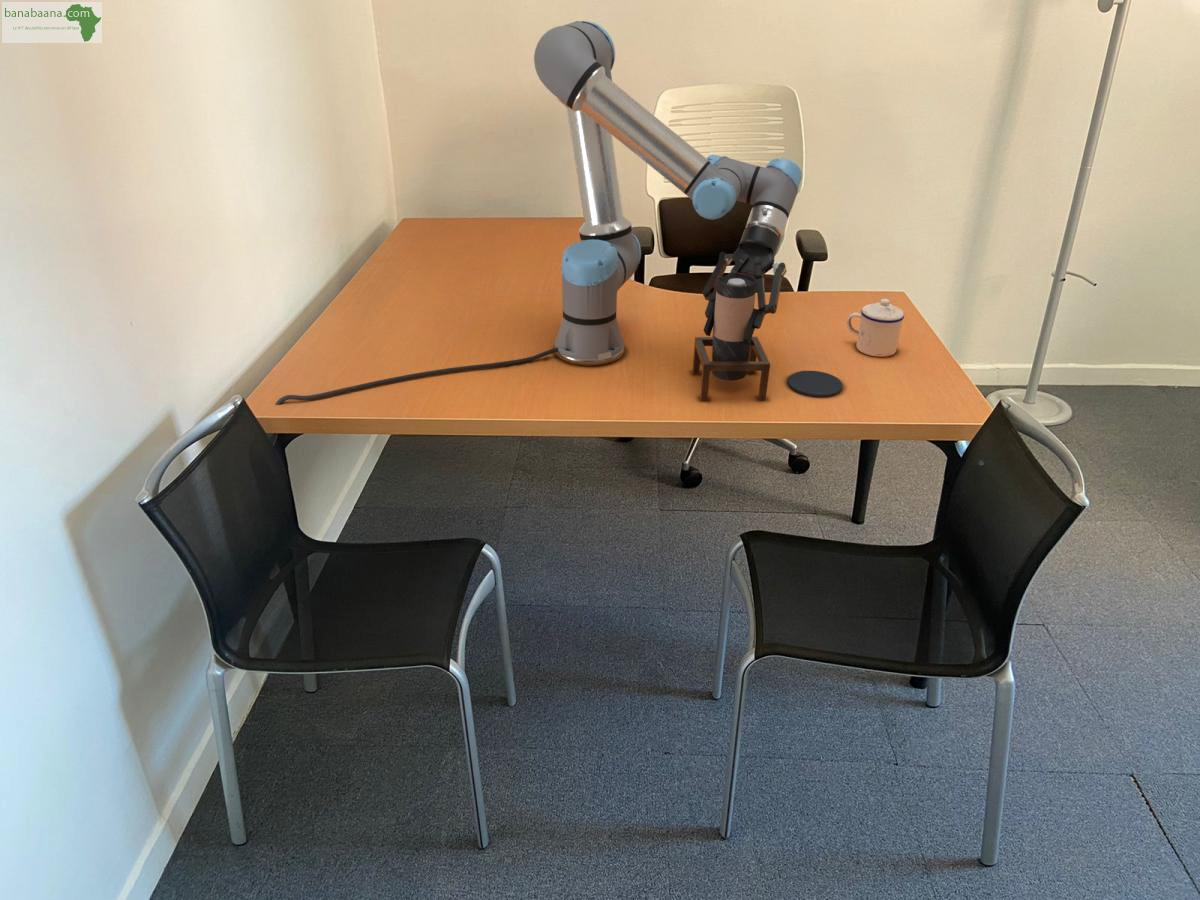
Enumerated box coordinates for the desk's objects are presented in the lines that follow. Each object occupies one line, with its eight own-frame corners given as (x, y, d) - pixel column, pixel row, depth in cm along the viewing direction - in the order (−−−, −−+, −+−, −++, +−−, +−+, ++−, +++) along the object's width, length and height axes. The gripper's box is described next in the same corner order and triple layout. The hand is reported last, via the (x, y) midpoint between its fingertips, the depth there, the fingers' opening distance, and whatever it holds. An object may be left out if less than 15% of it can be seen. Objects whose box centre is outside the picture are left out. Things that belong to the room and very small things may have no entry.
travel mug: (746, 383, 173) (755, 287, 162) (708, 379, 174) (714, 284, 163) (749, 366, 179) (758, 273, 168) (712, 363, 180) (718, 271, 170)
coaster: (794, 397, 174) (794, 395, 173) (782, 373, 183) (782, 370, 183) (848, 397, 174) (849, 394, 174) (833, 372, 184) (834, 370, 183)
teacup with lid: (902, 347, 195) (912, 298, 189) (889, 361, 189) (899, 311, 183) (850, 334, 201) (859, 286, 195) (836, 348, 194) (844, 299, 188)
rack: (700, 400, 172) (703, 364, 168) (692, 371, 183) (694, 337, 179) (765, 400, 173) (770, 363, 168) (753, 371, 184) (757, 336, 180)
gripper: (711, 216, 173) (673, 318, 170) (811, 232, 166) (773, 340, 162) (718, 235, 180) (682, 334, 176) (814, 251, 172) (779, 356, 169)
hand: (726, 337), depth 169 cm, fingers closed on travel mug, 7 cm apart
